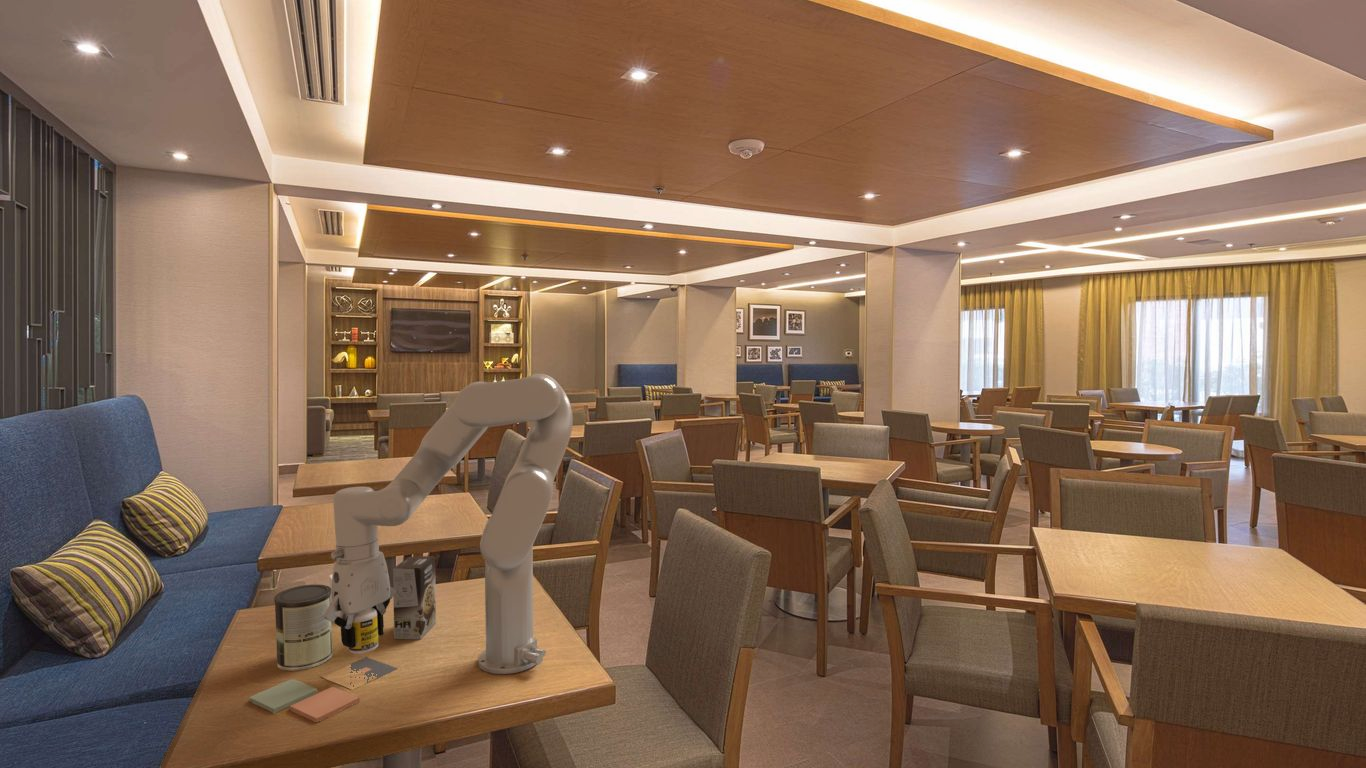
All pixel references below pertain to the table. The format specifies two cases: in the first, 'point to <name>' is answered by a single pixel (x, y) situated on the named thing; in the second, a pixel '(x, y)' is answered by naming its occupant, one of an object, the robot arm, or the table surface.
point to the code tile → (371, 668)
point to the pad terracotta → (324, 704)
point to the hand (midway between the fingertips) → (363, 639)
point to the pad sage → (283, 695)
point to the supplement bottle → (365, 631)
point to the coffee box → (414, 597)
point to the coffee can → (303, 627)
